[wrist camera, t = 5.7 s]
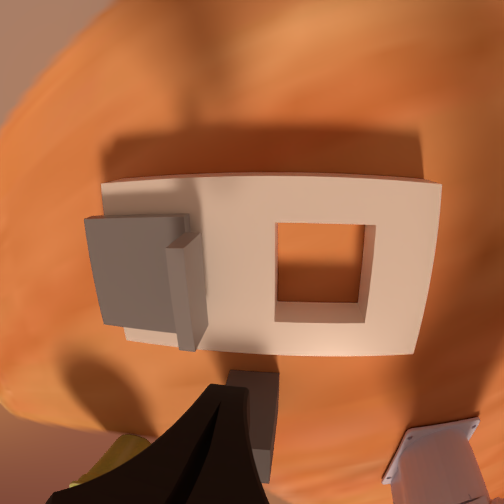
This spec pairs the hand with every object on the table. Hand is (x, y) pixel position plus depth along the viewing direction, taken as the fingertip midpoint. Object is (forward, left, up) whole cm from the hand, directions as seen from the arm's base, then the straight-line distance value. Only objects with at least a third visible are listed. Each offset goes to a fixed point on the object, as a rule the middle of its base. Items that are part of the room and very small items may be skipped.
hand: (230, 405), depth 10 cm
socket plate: (+2, 0, -10) cm, 10 cm away
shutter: (+2, +6, -7) cm, 9 cm away
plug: (-8, +1, -10) cm, 13 cm away
